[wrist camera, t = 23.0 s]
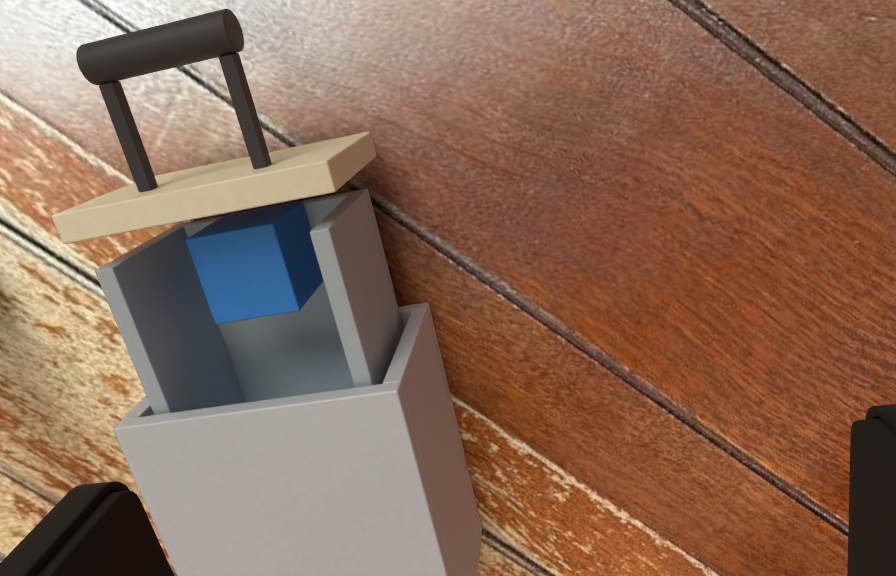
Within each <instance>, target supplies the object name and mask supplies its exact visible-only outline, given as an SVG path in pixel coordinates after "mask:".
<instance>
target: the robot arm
mask: <svg viewBox="0 0 896 576" xmlns="http://www.w3.org/2000/svg"><path fill="white" fill-rule="evenodd" d="M0 576H174V574H173V572H172V570H171V568H170V565H169V563H168V561H167V559H166V557H165V554H164V552H163V550H162V548H161V545H160V543H159V541H158V539H157V536H156V534H155V532H154V530H153V528H152V525H151V523H150V521H149V519H148V516H147V514H146V512H145V510H144V507H143V505H142V503H141V501H140V499H139V497H138V496H137V494H136V493H134V492H133V491H130V490H129V489H128V487H127V486H126V485H124V484H123V483H121V482H116V481H115V482H105V483H95V484H85V485H80V486H76V487H75V488H73V489H72V490H71V491H69V492H68V493H67V495H66V496H65V497H64V498H63V499H62V500H61V501H60V502H59V503H58V504H57V505H56V506H55V507H54V508H53V509H52V510H51V511H50V512H49V513H48V514H47V515H46V516H45V517H44V518H43V519H42V520H41V522H40V523H39V524H38V525H37V526H36V527H35V528H34V529H33V530H32V531H31V532H30V533H29V534H28V535H27V536H26V537H25V538H24V539H23V540H22V541H21V542H20V543H19V544H18V545H17V546H16V547H15V549H14V550H13V551H12V552H11V553H10V554H9V555H8V556H7V557H6V558H5V559H4V560H3V561H2V562H1V563H0ZM848 576H896V404H891V405H881V406H873V407H871V408H869V410H868V412H867V414H866V420H859V421H855V422H853V424H852V427H851V445H850V491H849V536H848Z"/></svg>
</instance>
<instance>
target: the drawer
mask: <svg viewBox="0 0 896 576" xmlns="http://www.w3.org/2000/svg"><path fill="white" fill-rule="evenodd" d="M243 47H244V38H243V33H242V29H241V26H240V24H239V22H238V20H237V18H236V16H235V15H234V13H233V12H232V11H231V10H229V9H223V10H219V11H215V12H211V13H207V14H203V15H199V16H195V17H191V18H187V19H183V20H179V21H175V22H171V23H167V24H163V25H159V26H155V27H151V28H147V29H143V30H139V31H135V32H131V33H127V34H123V35H119V36H115V37H111V38H107V39H103V40H99V41H95V42H91V43H87V44H83V45H81V46H80V47H79V48H78V50H77V62H78V66H79V68H80V70H81V72H82V74H83V75H84V77H85V78H86V79H87V80H88V81H89V82H91V83H92V84H95V85H99V88H100V90H101V93H102V96H103V98H104V101H105V104H106V106H107V109H108V112H109V114H110V117H111V120H112V122H113V125H114V128H115V130H116V133H117V136H118V138H119V141H120V144H121V146H122V149H123V152H124V154H125V157H126V160H127V162H128V165H129V168H130V170H131V173H132V176H133V178H134V181H135V183H132V184H130V185H127V186H125V187H122V188H120V189H117V190H115V191H112V192H110V193H107V194H105V195H102V196H100V197H97V198H95V199H92V200H90V201H87V202H85V203H82V204H79V205H77V206H74V207H72V208H69V209H67V210H64V211H62V212H59V213H57V214H54V215H53V216H52V218H53V221H54V223H55V225H56V228H57V230H58V232H59V235H60V237H61V240H62V242H63V243H64V244H68V243H73V242H78V241H83V240H89V239H94V238H99V237H104V236H109V235H115V234H120V233H125V232H130V231H136V230H141V229H146V228H151V227H156V226H162V225H167V224H172V223H177V222H183V221H188V220H193V219H198V218H203V217H209V216H214V215H219V214H224V213H230V212H235V211H240V210H245V209H250V208H256V207H261V206H266V205H271V204H277V203H282V202H287V201H292V200H297V199H303V198H308V197H313V196H318V195H324V194H329V193H334V192H336V191H337V190H338V189H339V188H340V187H341V186H343V185H344V184H345V183H346V182H347V181H348V180H349V179H351V178H352V177H353V176H354V175H355V174H356V173H358V172H359V171H360V170H361V169H362V168H363V167H365V166H366V165H367V164H368V163H369V162H370V161H372V160H373V159H374V158H375V157H376V152H375V148H374V144H373V140H372V136H371V132H364V133H359V134H354V135H349V136H344V137H340V138H335V139H330V140H325V141H320V142H315V143H311V144H306V145H301V146H296V147H291V148H286V149H281V150H277V151H272V152H268V149H267V146H266V143H265V139H264V136H263V133H262V129H261V126H260V123H259V119H258V116H257V113H256V109H255V106H254V103H253V99H252V96H251V93H250V89H249V86H248V83H247V80H246V76H245V73H244V70H243V66H242V63H241V60H240V56H239V54H238V53H237V52H240V51H242V50H243ZM216 57H219V60H220V63H221V66H222V69H223V73H224V76H225V79H226V82H227V86H228V89H229V92H230V95H231V98H232V102H233V105H234V108H235V111H236V114H237V118H238V121H239V124H240V127H241V130H242V134H243V137H244V140H245V143H246V147H247V150H248V153H249V156H248V157H243V158H238V159H233V160H228V161H223V162H219V163H214V164H209V165H204V166H199V167H194V168H189V169H185V170H180V171H175V172H170V173H165V174H160V175H156V176H154V174H153V171H152V168H151V165H150V163H149V160H148V157H147V154H146V152H145V149H144V146H143V143H142V141H141V138H140V135H139V132H138V130H137V127H136V124H135V121H134V119H133V116H132V113H131V110H130V108H129V105H128V102H127V99H126V97H125V94H124V91H123V88H122V86H121V83H120V82H119V80H123V79H127V78H131V77H136V76H140V75H144V74H148V73H153V72H157V71H161V70H165V69H169V68H174V67H178V66H182V65H186V64H191V63H195V62H199V61H203V60H207V59H212V58H216ZM114 81H115V82H114ZM302 202H303V205H304V208H305V212H306V215H307V218H308V222H309V225H310V229H311V231H310V236H311V239H312V243H313V246H314V249H315V253H316V256H317V260H318V263H319V266H320V270H321V273H322V277H323V280H324V281H323V282H322V283H321V285H320V286H319V287H318V288H317V290H316V291H315V292H314V293H313V295H312V296H311V297H310V298H309V300H308V301H307V302H306V303H305V305H304V306H303V307H302V308H301V310H300V311H297V312H290V313H284V314H278V315H272V316H265V317H259V318H253V319H247V320H240V321H234V322H228V323H222V324H216V323H215V321H214V318H213V315H212V313H211V310H210V307H209V304H208V301H207V299H206V296H205V293H204V290H203V288H202V285H201V282H200V279H199V276H198V274H197V271H196V268H195V265H194V262H193V260H192V257H191V254H190V251H189V249H188V246H187V243H186V239H187V238H189V237H190V236H192V235H194V234H195V233H197V232H198V231H200V230H202V229H203V228H205V227H206V226H208V225H210V224H211V223H213V222H214V221H216V220H218V219H219V218H221V217H223V216H220V217H215V218H210V219H204V220H199V221H194V222H189V223H183V224H178V225H176V226H174V227H172V228H171V229H168V230H167V231H165V232H163V233H161V234H159V235H158V236H156V237H154V238H152V239H151V240H149V241H147V242H145V243H144V244H142V245H140V246H138V247H136V248H135V249H133V250H131V251H129V252H128V253H126V254H124V255H122V256H120V257H119V258H117V259H115V260H113V261H112V262H110V263H108V264H106V265H105V266H103V267H101V268H99V269H97V270H96V271H95V272H96V275H97V277H98V280H99V282H100V284H101V287H102V289H103V292H104V294H105V297H106V299H107V301H108V304H109V306H110V309H111V311H112V313H113V316H114V318H115V321H116V323H117V325H118V328H119V330H120V333H121V335H122V338H123V340H124V342H125V345H126V347H127V350H128V352H129V354H130V357H131V359H132V362H133V364H134V366H135V369H136V371H137V374H138V376H139V378H140V381H141V383H142V386H143V388H144V391H145V393H146V395H147V398H148V400H149V403H150V405H151V407H152V410H153V412H154V415H159V414H166V413H174V412H181V411H188V410H196V409H203V408H210V407H218V406H225V405H232V404H240V403H247V402H254V401H262V400H269V399H276V398H284V397H291V396H298V395H306V394H313V393H320V392H328V391H335V390H342V389H349V388H357V387H364V386H371V385H379V384H383V381H384V379H385V376H386V374H387V371H388V369H389V366H390V364H391V361H392V359H393V356H394V354H395V351H396V349H397V346H398V344H399V341H400V339H401V336H402V334H403V331H404V328H403V324H402V320H401V316H400V312H399V308H398V304H397V300H396V296H395V293H394V289H393V285H392V281H391V277H390V273H389V269H388V265H387V261H386V257H385V253H384V249H383V246H382V242H381V238H380V234H379V230H378V226H377V222H376V218H375V214H374V210H373V206H372V202H371V198H370V195H369V191H368V189H361V190H356V191H351V192H346V193H341V194H335V195H330V196H325V197H320V198H314V199H309V200H304V201H302Z"/></svg>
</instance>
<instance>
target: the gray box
mask: <svg viewBox="0 0 896 576" xmlns="http://www.w3.org/2000/svg"><path fill="white" fill-rule="evenodd" d="M398 308H399V312H400V316H401V320H402V324H403V328H404V331H403V334H402V336H401V339H400V341H399V344H398V346H397V349H396V351H395V354H394V356H393V359H392V361H391V364H390V366H389V369H388V371H387V374H386V376H385V379H384V381H383V384H379V385H371V386H364V387H357V388H349V389H342V390H335V391H328V392H320V393H313V394H306V395H298V396H291V397H284V398H276V399H269V400H262V401H254V402H247V403H240V404H232V405H225V406H218V407H210V408H203V409H196V410H188V411H181V412H174V413H166V414H159V415H154V412H153V410H152V407H151V405H150V403H149V400H148V398H147V396H146V397H145V398H144V399H143V400H142V401H141V402H139V403H138V404H137V405H136V406H135V407H134V408H133V409H132V410H131V411H130V412H129V413H128V414H127V415H126V416H125V417H124V418H123V420H121V421H120V422H119V423H118V424H117V425H116V426H115V427H114V428H113V431H114V433H115V436H116V438H117V440H118V442H119V445H120V447H121V449H122V451H123V454H124V456H125V458H126V461H127V463H128V465H129V467H130V470H131V472H132V474H133V476H134V479H135V481H136V483H137V485H138V488H139V490H140V492H141V494H142V497H143V499H144V501H145V503H146V506H147V508H148V510H149V512H150V515H151V517H152V519H153V521H154V524H155V526H156V528H157V530H158V533H159V535H160V537H161V539H162V542H163V544H164V546H165V548H166V551H167V553H168V555H169V558H170V560H171V562H172V564H173V567H174V569H175V571H176V573H177V576H478V570H479V558H480V547H481V536H482V524H481V520H480V516H479V512H478V507H477V503H476V499H475V495H474V491H473V486H472V482H471V478H470V474H469V470H468V465H467V461H466V457H465V453H464V449H463V444H462V440H461V436H460V432H459V427H458V423H457V419H456V415H455V411H454V406H453V402H452V398H451V394H450V390H449V385H448V381H447V377H446V373H445V369H444V364H443V360H442V356H441V352H440V348H439V343H438V339H437V335H436V331H435V327H434V322H433V318H432V314H431V310H430V305H429V302H426V303H419V304H413V305H407V306H400V307H398Z"/></svg>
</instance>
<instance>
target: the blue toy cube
mask: <svg viewBox="0 0 896 576" xmlns="http://www.w3.org/2000/svg"><path fill="white" fill-rule="evenodd" d="M310 231H311V229H310V225H309V222H308V218H307V215H306V212H305V208H304V205H303V202H302V201H301V200H300V201H295V202H290V203H285V204H279V205H274V206H269V207H264V208H259V209H253V210H248V211H243V212H238V213H232V214H227V215H224V216H223V217H221V218H219V219H218V220H216V221H214V222H213V223H211V224H210V225H208V226H206V227H205V228H203V229H202V230H200V231H198V232H197V233H195V234H194V235H192V236H190V237H189V238H187V239H186V243H187V246H188V249H189V251H190V254H191V257H192V260H193V262H194V265H195V268H196V271H197V274H198V276H199V279H200V282H201V285H202V288H203V290H204V293H205V296H206V299H207V301H208V304H209V307H210V310H211V313H212V315H213V318H214V321H215V323H216V324H222V323H228V322H234V321H240V320H247V319H253V318H259V317H265V316H272V315H278V314H284V313H290V312H297V311H300V310H301V308H302V307H303V306H304V305H305V303H306V302H307V301H308V300H309V298H310V297H311V296H312V295H313V293H314V292H315V291H316V290H317V288H318V287H319V286H320V285H321V283H322V282H323V281H324V280H323V277H322V273H321V270H320V266H319V263H318V260H317V256H316V253H315V249H314V246H313V243H312V239H311V236H310Z"/></svg>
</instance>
